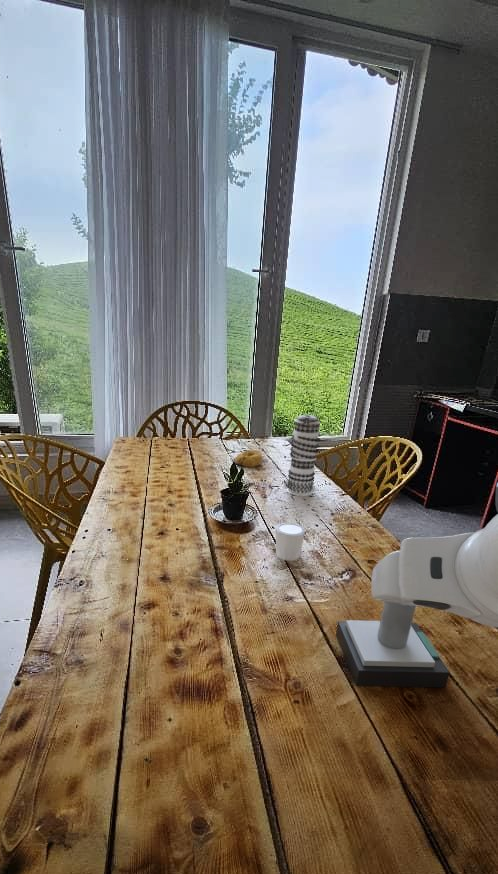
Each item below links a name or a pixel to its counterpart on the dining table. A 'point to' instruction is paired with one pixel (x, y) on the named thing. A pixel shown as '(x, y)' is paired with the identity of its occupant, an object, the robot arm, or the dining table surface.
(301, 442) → the banded tower model
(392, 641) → the grey hollow tube
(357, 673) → the scale
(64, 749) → the dining table surface
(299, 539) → the white short cylinder
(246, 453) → the bagel
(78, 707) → the dining table surface
